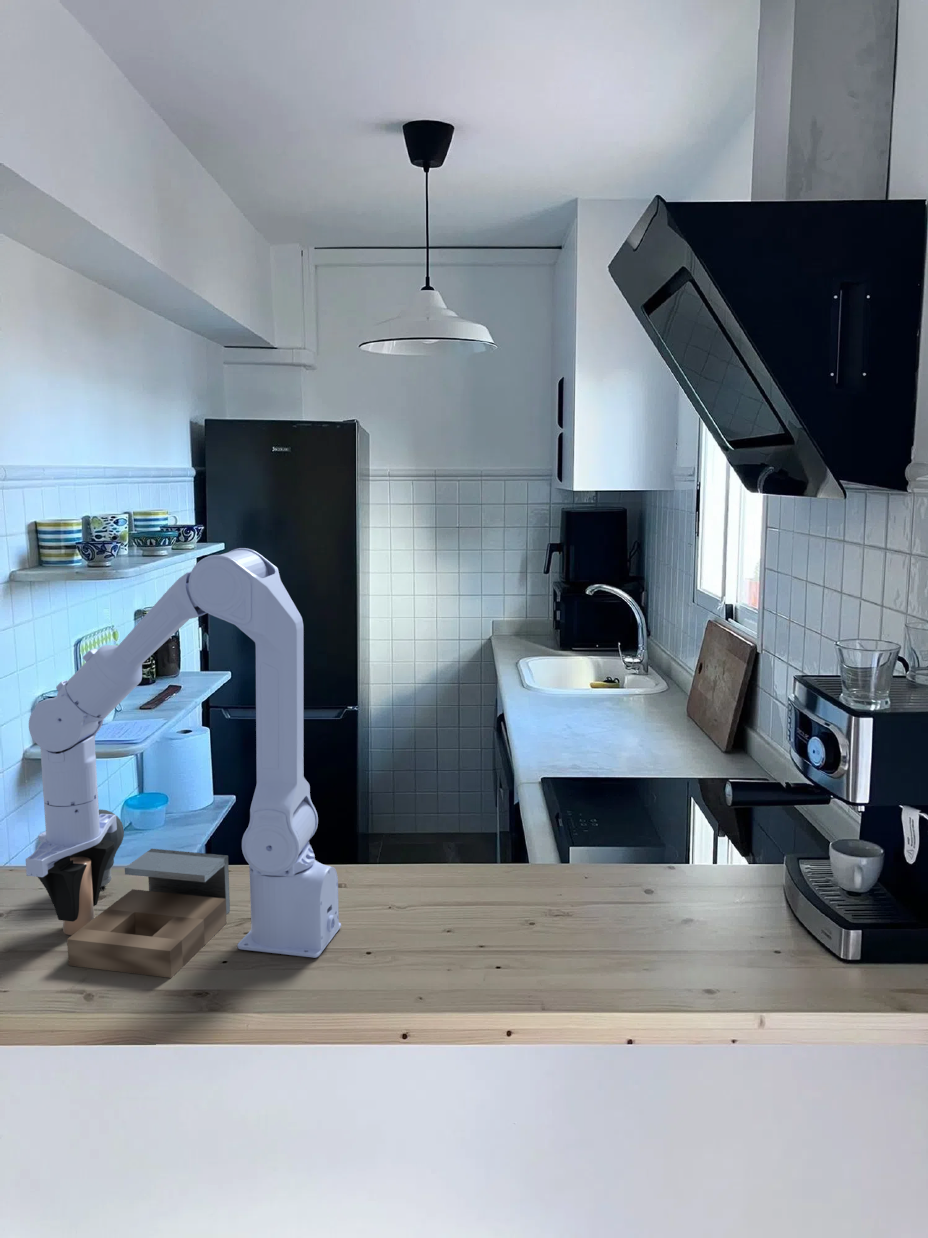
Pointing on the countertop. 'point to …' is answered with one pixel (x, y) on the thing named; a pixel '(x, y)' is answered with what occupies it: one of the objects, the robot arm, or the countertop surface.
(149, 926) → the socket block
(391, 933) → the countertop surface
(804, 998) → the countertop surface
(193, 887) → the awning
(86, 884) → the peg
